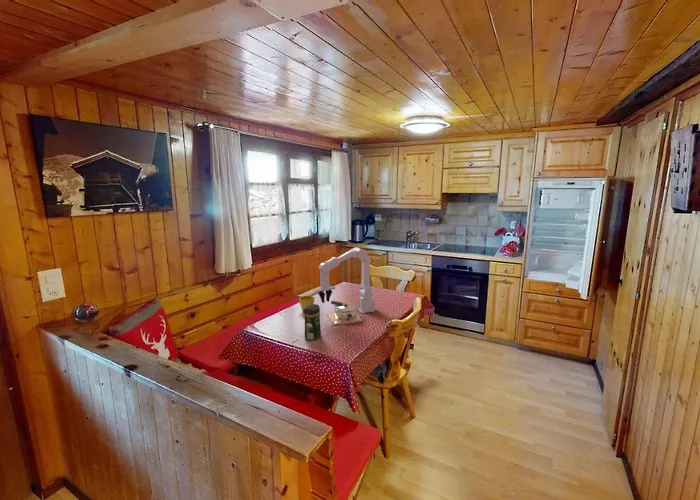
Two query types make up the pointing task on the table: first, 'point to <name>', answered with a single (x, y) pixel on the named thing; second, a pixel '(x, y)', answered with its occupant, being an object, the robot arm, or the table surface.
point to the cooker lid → (344, 306)
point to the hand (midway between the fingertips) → (325, 301)
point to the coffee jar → (312, 322)
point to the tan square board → (344, 317)
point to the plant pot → (306, 301)
